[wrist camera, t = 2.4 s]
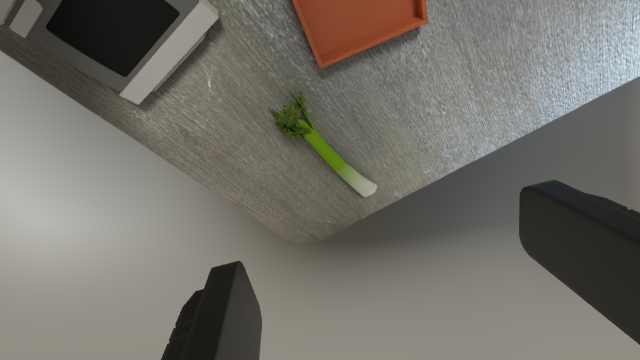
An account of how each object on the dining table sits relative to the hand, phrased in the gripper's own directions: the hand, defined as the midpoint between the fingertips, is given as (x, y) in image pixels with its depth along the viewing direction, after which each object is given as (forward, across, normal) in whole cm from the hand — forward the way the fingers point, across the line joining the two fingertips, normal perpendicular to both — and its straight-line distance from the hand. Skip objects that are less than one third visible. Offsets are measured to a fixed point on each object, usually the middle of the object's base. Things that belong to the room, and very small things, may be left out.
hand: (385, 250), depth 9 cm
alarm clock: (+37, +19, -15) cm, 44 cm away
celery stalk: (+47, -3, +10) cm, 49 cm away
